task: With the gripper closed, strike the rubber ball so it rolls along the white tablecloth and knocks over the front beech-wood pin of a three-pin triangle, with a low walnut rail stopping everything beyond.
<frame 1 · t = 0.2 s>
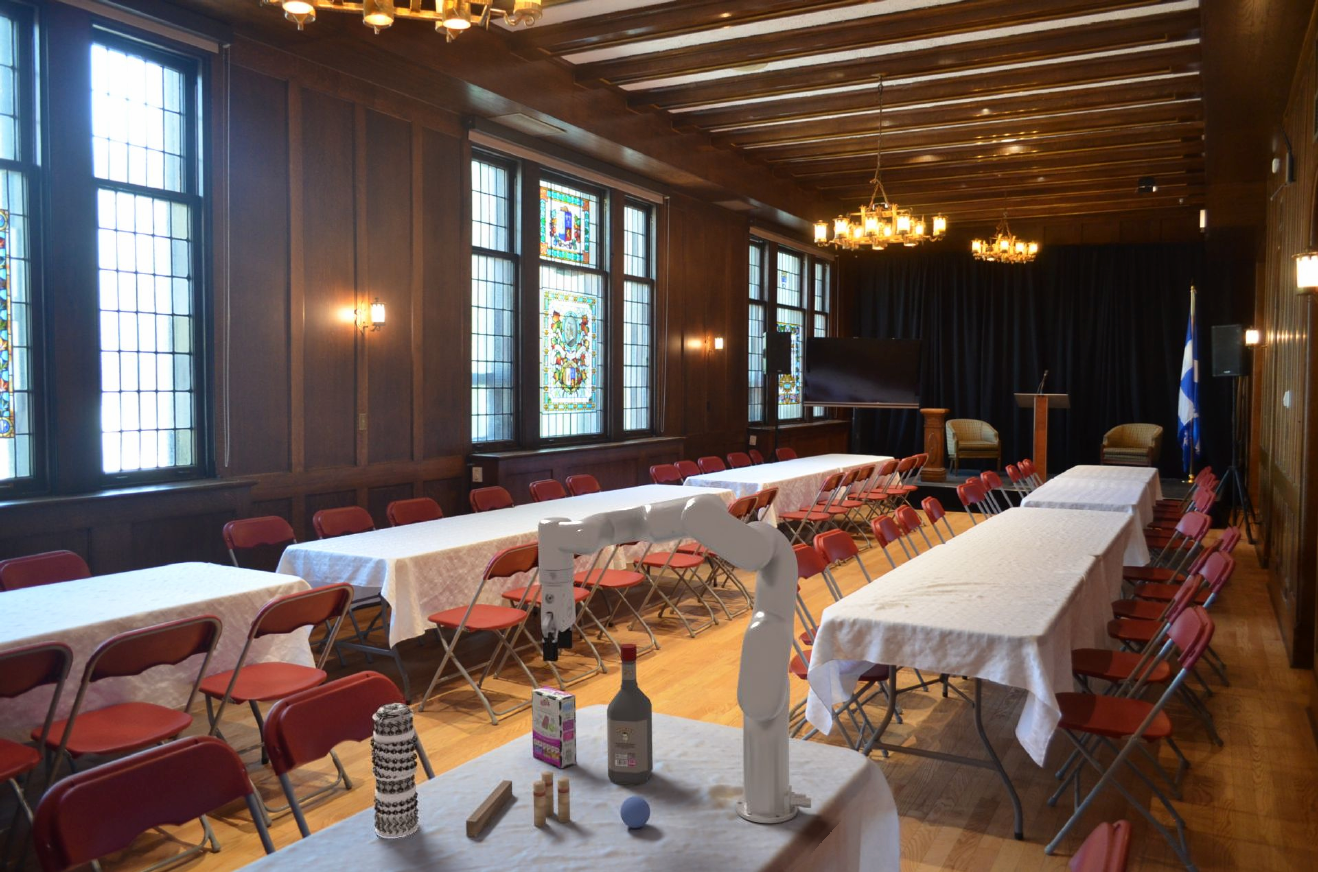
hand: (558, 654, 210), 31 cm above the table, tool pointing down, fingers open, 9 cm apart
front pin: (564, 820, 199), on the table
right back pin: (548, 813, 203), on the table
left back pin: (540, 823, 198), on the table
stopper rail: (490, 813, 203), on the table
liquor: (630, 777, 221), on the table
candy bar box: (554, 760, 231), on the table
ball: (635, 811, 196), on the table
decorative candle: (396, 830, 196), on the table
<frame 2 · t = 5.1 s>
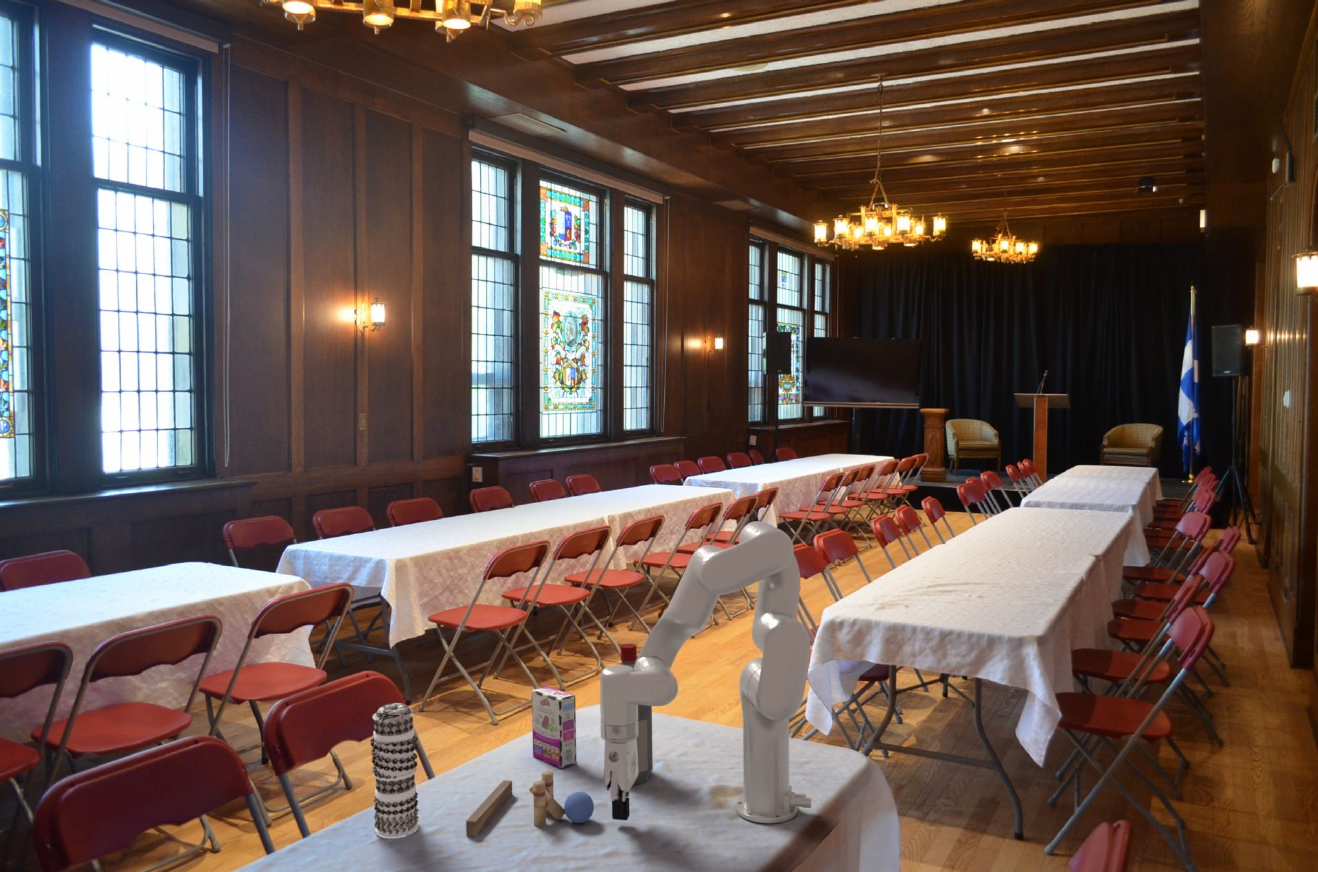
hand: (620, 817, 197), 2 cm above the table, tool pointing down, fingers closed
front pin: (562, 815, 199), point 1 cm above the table, tilted 46°
ball: (579, 807, 198), on the table
everything else where it was.
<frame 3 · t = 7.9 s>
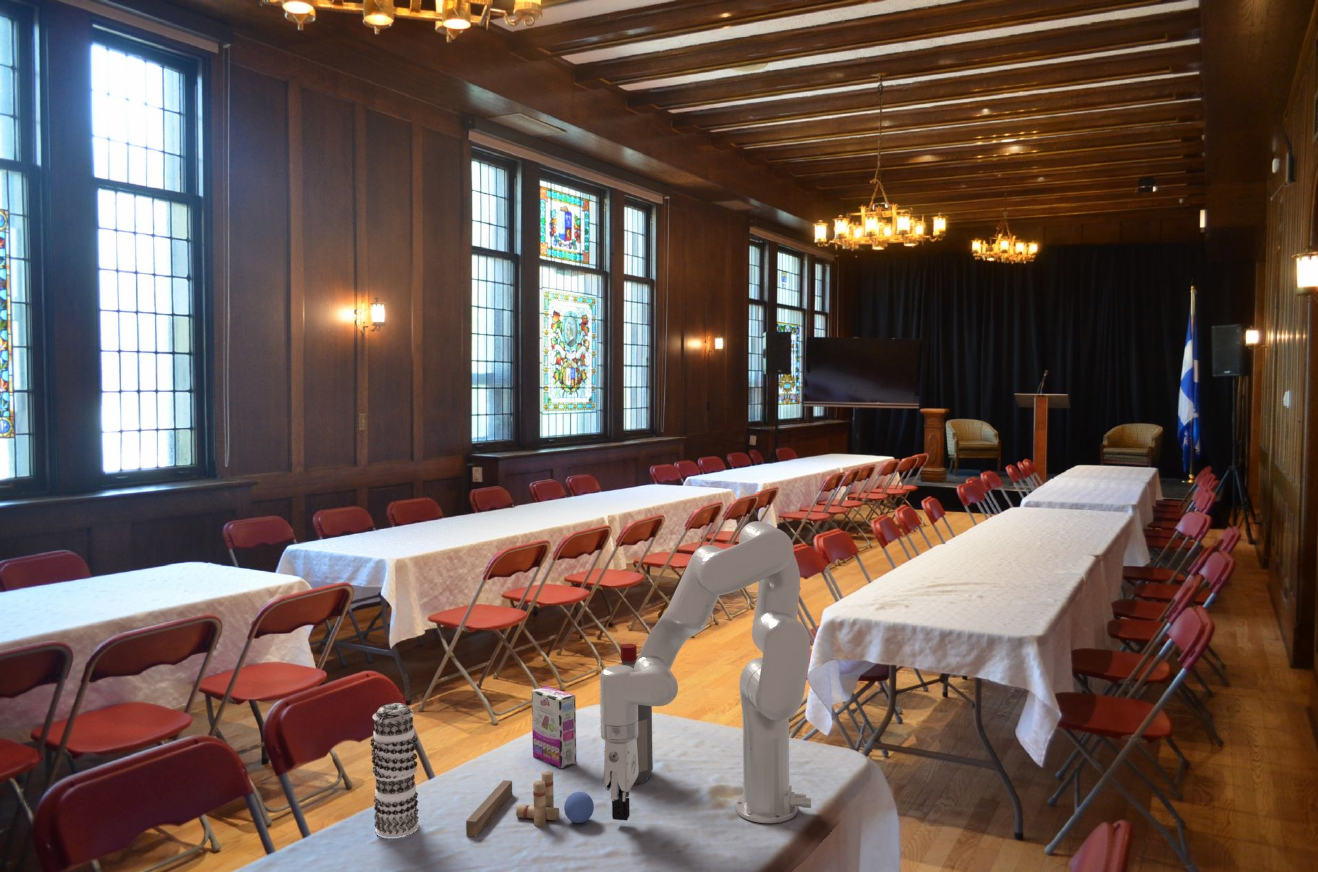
hand: (620, 817, 197), 2 cm above the table, tool pointing down, fingers closed
front pin: (557, 814, 199), point 1 cm above the table, tilted 90°
everything else where it was.
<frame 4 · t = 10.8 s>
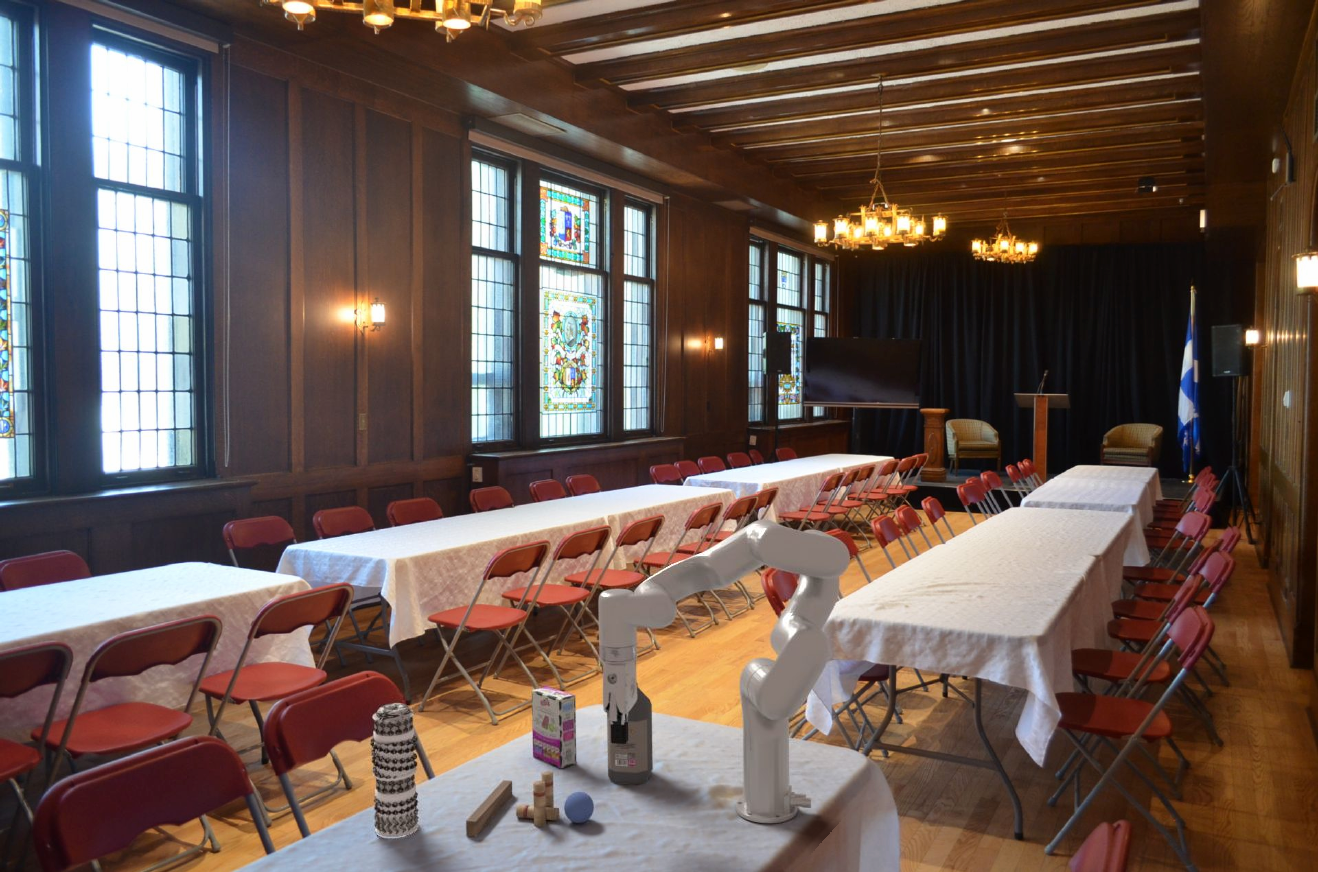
hand: (619, 741, 196), 17 cm above the table, tool pointing down, fingers closed
nothing on the table moved.
at the end: front pin tilted 90°; front pin never touched the robot; ball moved 11.8 cm from its start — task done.
